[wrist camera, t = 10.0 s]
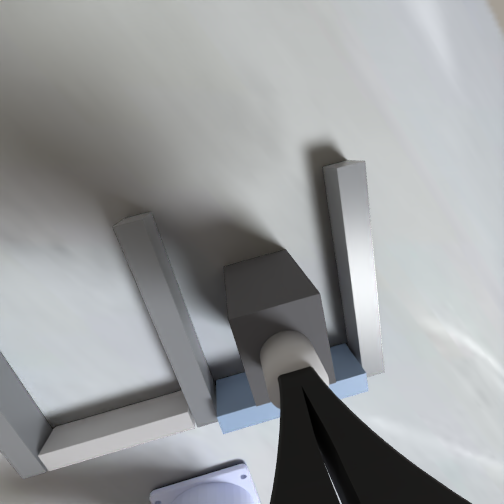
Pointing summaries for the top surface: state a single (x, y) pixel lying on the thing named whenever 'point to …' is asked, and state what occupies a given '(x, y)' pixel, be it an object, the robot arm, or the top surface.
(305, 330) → the cord connector
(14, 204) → the top surface
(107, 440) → the cable duct
